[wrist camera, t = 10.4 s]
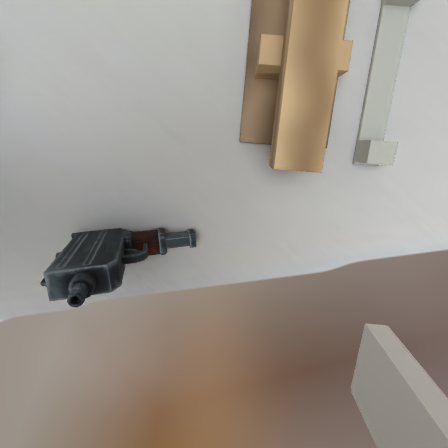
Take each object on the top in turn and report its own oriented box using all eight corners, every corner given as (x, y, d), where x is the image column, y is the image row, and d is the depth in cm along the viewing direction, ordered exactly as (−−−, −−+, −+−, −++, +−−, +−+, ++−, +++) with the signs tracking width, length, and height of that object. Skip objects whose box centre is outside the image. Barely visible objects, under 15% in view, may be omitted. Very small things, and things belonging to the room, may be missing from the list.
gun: (215, 294, 27) (24, 324, 24) (191, 239, 43) (74, 253, 40) (213, 265, 26) (16, 293, 23) (189, 220, 42) (70, 233, 39)
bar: (269, 165, 30) (274, 168, 26) (297, -87, 25) (309, -129, 21) (310, 168, 30) (321, 172, 26) (347, -84, 25) (368, -125, 21)
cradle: (352, 163, 37) (366, 166, 33) (386, -23, 32) (406, -46, 28) (376, 165, 37) (392, 168, 33) (413, -21, 32) (437, -43, 28)
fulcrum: (239, 141, 37) (240, 141, 30) (253, -16, 33) (258, -60, 26) (324, 148, 37) (345, 149, 29) (348, -9, 33) (380, -52, 25)
